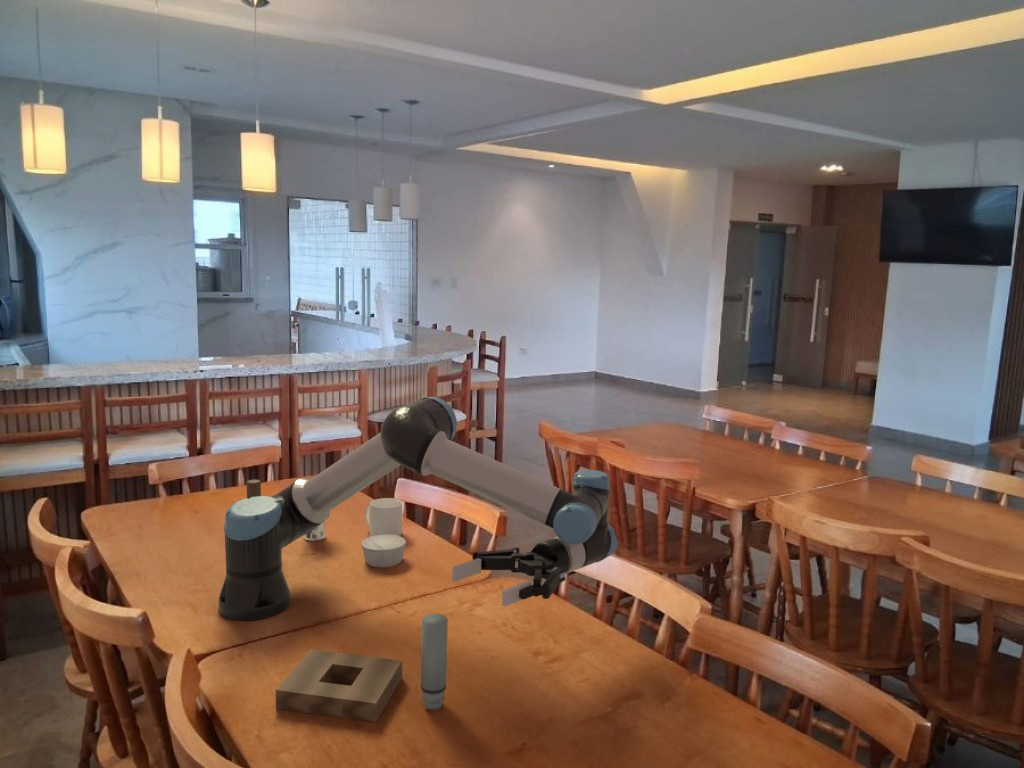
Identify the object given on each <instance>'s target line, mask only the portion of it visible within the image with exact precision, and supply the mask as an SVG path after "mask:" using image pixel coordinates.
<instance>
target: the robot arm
mask: <svg viewBox="0 0 1024 768" xmlns="http://www.w3.org/2000/svg"><path fill="white" fill-rule="evenodd" d="M457 421H458V420H457V417H456V414H455V412H454V409H453V408H452V407H451V405H449V404H448V403H447V402H446V401H445V400H443V399H442V398H439V397H435V396H426V397H421V398H419V399H417V400H414V401H412V402H410V403H408V404H405V405H403V406H400V407H397V408H396V409H394V410H392V411H391V412H390V413H389V414H388V415H387V416H386V417H385V419H384V420H383V422H382V424H381V427H380V432H379V433H378V434H376V435H375V436H373V437H371V438H370V439H368V440H367V441H366V442H364V443H363V444H361V445H360V446H358V447H357V448H355V449H353V450H352V451H350V452H349V453H347V454H346V455H345V456H343V457H342V458H339V460H337V461H336V462H334V463H333V464H331V465H330V466H328V467H327V468H326V469H325V468H324V470H322V471H320V473H317V474H316V475H315V476H313V477H312V478H310V479H309V478H305V477H303V478H298V479H296V481H294V482H293V483H291V484H290V485H288V486H287V487H285V488H284V489H282V490H281V491H279V492H278V493H275V494H273V495H272V496H269V495H267V496H266V495H261V496H255V497H251V498H249V499H247V497H246V498H243V499H240V500H238V501H236V502H234V503H233V504H231V505H230V506H229V507H228V508H227V509H226V512H225V516H224V525H223V532H224V541H225V543H224V544H225V546H224V547H225V548H224V549H225V572H226V573H225V577H224V581H223V583H222V588H221V590H220V593H219V596H218V612H219V613H220V614H221V616H223V617H225V618H228V619H232V620H235V621H236V620H237V621H256V620H262V619H266V618H270V617H274V616H275V615H278V614H281V613H282V612H283V611H285V610H287V608H289V606H290V604H291V590H290V588H289V585H288V582H287V580H286V577H285V573H284V572H283V567H282V566H283V563H282V560H283V559H282V549H284V548H285V547H287V546H288V545H290V544H292V543H294V542H295V541H296V540H298V539H300V538H302V537H304V535H306V534H308V533H310V532H311V531H313V530H314V529H315V528H316V527H317V526H319V525H320V524H322V523H323V522H326V521H327V520H328V519H329V517H330V515H331V511H332V510H333V509H335V508H336V507H338V506H339V505H341V504H342V503H345V501H347V500H348V499H350V498H352V497H354V496H355V495H356V494H358V493H360V492H361V491H362V490H364V489H366V488H368V487H369V486H370V485H371V484H373V483H375V482H376V481H378V480H380V479H382V478H383V477H384V476H386V475H388V474H389V473H391V472H393V471H394V470H395V469H397V468H398V467H400V466H402V467H404V468H406V469H408V470H410V471H412V472H414V473H416V474H418V475H422V476H423V477H427V476H428V475H429V476H430V475H434V476H436V477H438V478H440V479H443V480H445V481H447V482H449V483H451V484H454V485H457V486H458V487H460V488H463V489H465V490H468V491H469V492H471V493H473V494H476V495H478V496H480V497H482V498H485V499H487V500H489V501H492V502H494V503H496V504H498V505H500V506H502V507H505V508H507V509H509V510H512V511H514V512H516V513H519V514H520V515H523V516H524V517H527V518H528V519H529V518H530V519H532V520H534V521H536V522H538V523H541V524H542V525H545V526H547V527H549V528H551V529H553V532H554V534H555V535H556V536H554V537H552V538H549V539H546V540H543V541H540V542H538V543H537V544H535V546H534V547H533V548H532V550H531V551H527V552H524V553H521V552H520V547H516V546H515V547H512V548H509V549H499V550H498V549H497V550H488V551H486V550H485V551H476V552H472V560H469V561H465V562H463V563H461V564H457V565H453V566H452V574H451V575H452V581H453V582H454V583H455V582H458V581H461V580H463V579H467V578H470V577H473V576H476V575H480V574H481V573H482V571H511V573H522V574H526V575H527V576H528V577H533V579H532V580H525V581H524V582H522V583H518V584H515V585H513V586H511V587H508V588H506V589H503V590H502V596H501V598H502V601H501V606H503V607H507V606H510V605H512V604H515V603H518V602H520V601H522V600H526V599H529V598H531V597H539V596H542V599H544V600H548V599H550V598H551V596H552V594H553V593H554V592H555V590H556V589H557V587H558V586H559V585H560V584H561V583H562V582H564V581H566V574H569V573H571V572H573V571H577V570H580V569H581V568H584V567H587V566H590V565H592V564H595V563H599V562H602V561H604V560H605V559H607V558H609V557H610V556H612V555H613V554H614V553H615V552H616V550H617V547H618V537H617V535H616V531H615V529H614V528H613V527H612V526H611V525H610V524H609V523H608V522H609V521H608V520H609V519H608V517H609V504H610V503H609V501H610V492H611V488H610V477H609V474H607V473H606V472H604V471H601V470H597V469H596V470H595V469H582V470H577V471H576V472H575V473H574V475H573V481H572V484H571V486H572V493H571V492H568V491H566V490H564V489H561V488H559V487H557V486H555V485H553V484H550V483H548V482H546V481H543V480H541V479H539V478H537V477H535V476H532V475H530V474H527V473H525V472H523V471H520V470H519V469H517V468H514V467H512V466H509V465H507V464H505V463H502V462H500V461H498V460H496V459H493V458H491V457H490V456H486V455H485V454H482V453H480V452H478V451H476V450H473V449H471V448H469V447H466V446H464V445H461V444H460V443H457V442H455V441H453V439H454V437H455V436H456V433H457V428H458V427H457V426H458V422H457ZM516 564H517V567H516ZM543 580H545V581H544V582H543ZM542 582H543V584H542Z"/></svg>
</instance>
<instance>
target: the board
mask: <svg viewBox="0 0 1024 768" xmlns="http://www.w3.org/2000/svg"><path fill="white" fill-rule="evenodd" d="M402 679H403V660H399V659H392V658H383V657H376V656H367V655H359V654H358V655H357V654H351V653H345V652H344V653H342V652H335V651H326V650H320V649H310V650H309V651H308V652H307V653H306V655H305V656H304V657H303V658H302V659H301V660H300V662H299V663H298V664H297V665H296V666H295V667H294V668H293V670H291V672H290V673H289V674H288V675H287V676H286V677H285V679H284V680H283V681H282V682H281V683H280V684H279V686H278V687H277V688H275V709H276V710H283V711H291V712H297V713H306V714H312V715H318V716H326V717H333V718H338V719H339V718H340V719H341V718H342V719H347V720H353V721H360V722H361V721H362V722H368V723H369V722H370V723H375V724H376V723H377V721H378V720H379V718H380V716H381V715H382V713H383V712H384V709H385V708H386V706H387V704H388V703H389V701H390V699H391V698H392V696H393V694H394V693H395V690H396V689H397V687H398V686H399V684H400V683H401V681H402ZM399 682H400V683H399ZM338 683H339V684H338ZM346 684H348V685H346Z"/></svg>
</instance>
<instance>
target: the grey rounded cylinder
mask: <svg viewBox="0 0 1024 768" xmlns="http://www.w3.org/2000/svg"><path fill="white" fill-rule="evenodd" d="M448 621H449V620H448V617H447V616H446V615H444V614H441V613H440V614H439V613H431V614H427V615H424V616H423V617H422V618H421V649H420V650H421V652H420V653H421V654H420V656H421V657H420V658H421V662H420V663H421V664H420V690H421V691H422V698H421V699H422V700H423V701H424V708H425V709H427V710H429V711H437V710H439V709H441V708H442V705H443V701H444V699H445V690H446V688H447V673H448V672H447V671H448V670H447V666H448V665H447V663H448V661H447V660H448V624H449V623H448Z"/></svg>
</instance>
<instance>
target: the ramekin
mask: <svg viewBox="0 0 1024 768" xmlns="http://www.w3.org/2000/svg"><path fill="white" fill-rule="evenodd" d="M406 546H407V541H406V539H405V538H404V537H403V536H397V535H376V536H371V535H370V536H369V537H367V538H365V539H363V540H362V542H361V549H362V551H363V557H364V561H365V563H366V564H367V565H369V566H370V567H373V568H378V569H379V568H383V569H384V568H390V567H394V566H397V565H399V564H400V563H401V562H402V561H403V559H404V556H405V555H404V553H405V550H406V549H405V548H406Z"/></svg>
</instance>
